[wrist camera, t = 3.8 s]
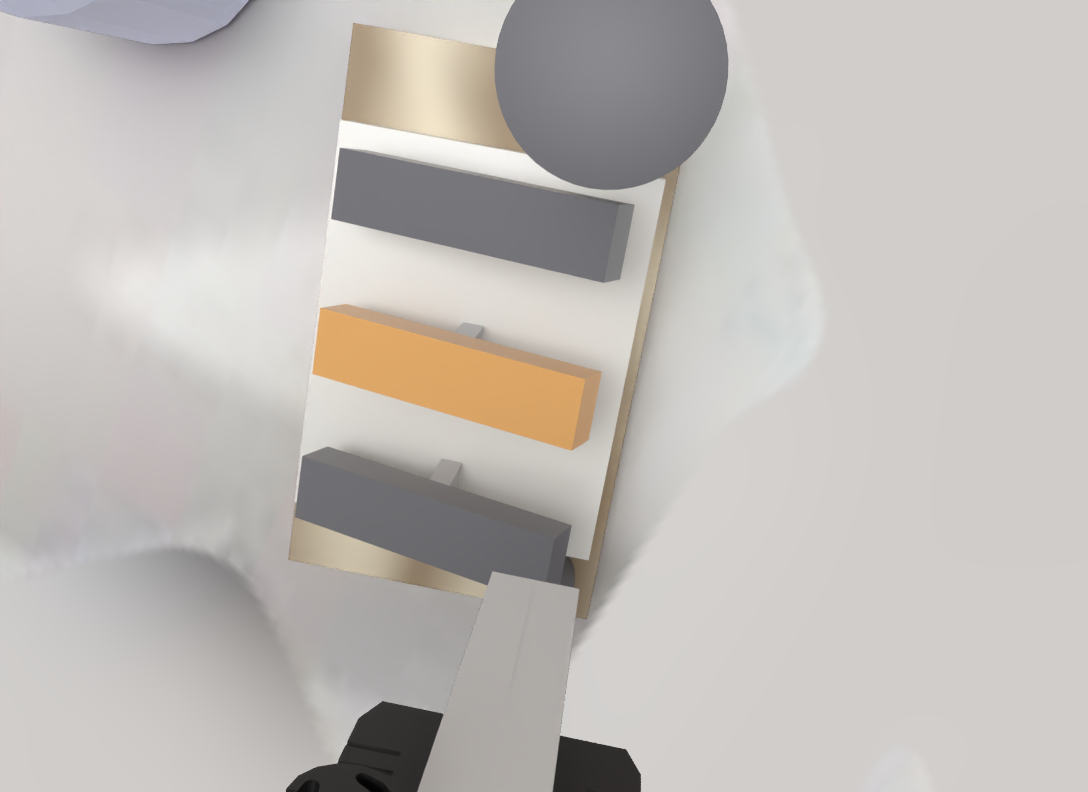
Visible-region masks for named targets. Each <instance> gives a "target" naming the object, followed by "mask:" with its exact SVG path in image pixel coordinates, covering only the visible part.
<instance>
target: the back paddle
mask: <svg viewBox="0 0 1088 792" xmlns="http://www.w3.org/2000/svg"><path fill="white" fill-rule="evenodd" d="M295 517H296V518H299V519H301V520H304V521H307V522H310V523H313V524H315V525H318V526H321V527H324V528H327V529H330V530H332V531H335V532H338V533H341V534H344V535H346V536H349V537H352V538H355V539H358V540H360V541H363V542H366V543H369V544H372V545H375V546H377V547H380V548H383V549H386V550H389V551H391V552H394V553H397V554H400V555H403V556H406V557H408V558H411V559H414V560H417V561H420V562H422V563H425V564H428V565H431V566H434V567H436V568H439V569H442V570H445V571H448V572H451V573H453V574H456V575H459V576H462V577H465V578H467V579H470V580H473V581H476V582H479V583H482V584H484V585H487V586H488V583H489V580H490V577H491V574H492V571H493V572H498V573H503V574H508V575H513V576H518V577H523V578H528V579H533V580H538V581H542V582H547V583H552V584H557V585H560V583H561V578H562V573H563V568H564V562H565V557H566V552H567V547H568V542H569V537H570V532H571V527H572V525H569V524H566V523H563V522H560V521H557V520H554V519H551V518H548V517H545V516H542V515H538V514H535V513H532V512H529V511H526V510H523V509H520V508H517V507H514V506H511V505H508V504H504V503H501V502H498V501H495V500H492V499H489V498H486V497H483V496H480V495H477V494H473V493H470V492H467V491H464V490H461V489H458V488H455V487H452V486H449V485H446V484H443V483H439V482H436V481H433V480H430V479H427V478H424V477H421V476H418V475H415V474H412V473H408V472H405V471H402V470H399V469H396V468H393V467H390V466H387V465H384V464H381V463H378V462H374V461H371V460H368V459H365V458H362V457H359V456H356V455H353V454H350V453H347V452H343V451H340V450H337V449H334V448H331V447H328V446H327V447H325V448H322V449H320V450H317V451H314V452H312V453H309V454H306V455H304V456H302V463H301V471H300V479H299V487H298V496H297V504H296V512H295Z"/></svg>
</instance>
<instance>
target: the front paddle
mask: <svg viewBox="0 0 1088 792" xmlns="http://www.w3.org/2000/svg"><path fill="white" fill-rule="evenodd" d="M634 206H635V205H633V204H628V203H623V202H618V201H613V200H608V199H603V198H599V197H594V196H589V195H584V194H579V193H574V192H569V191H564V190H559V189H555V188H550V187H545V186H540V185H535V184H530V183H525V182H520V181H515V180H510V179H506V178H501V177H496V176H491V175H486V174H481V173H476V172H471V171H466V170H462V169H457V168H452V167H447V166H442V165H437V164H432V163H427V162H422V161H417V160H413V159H408V158H403V157H398V156H393V155H388V154H383V153H378V152H373V151H369V150H361V149H350V148H340V150H339V158H338V166H337V175H336V183H335V191H334V199H333V208H332V216H331V219H333V220H337V221H341V222H346V223H350V224H354V225H358V226H363V227H367V228H371V229H376V230H380V231H384V232H388V233H393V234H397V235H401V236H405V237H410V238H414V239H418V240H423V241H427V242H431V243H435V244H440V245H444V246H448V247H452V248H457V249H461V250H465V251H470V252H474V253H478V254H482V255H487V256H491V257H495V258H499V259H504V260H508V261H512V262H517V263H521V264H525V265H529V266H534V267H538V268H542V269H546V270H551V271H555V272H559V273H564V274H568V275H572V276H576V277H581V278H585V279H589V280H593V281H598V282H602V283H606V282H610V281H615V280H620V277H621V272H622V267H623V262H624V257H625V252H626V247H627V242H628V237H629V232H630V226H631V221H632V216H633V211H634Z"/></svg>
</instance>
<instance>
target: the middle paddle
mask: <svg viewBox="0 0 1088 792" xmlns="http://www.w3.org/2000/svg"><path fill="white" fill-rule="evenodd" d="M312 374H314V375H318V376H321V377H324V378H328V379H331V380H335V381H338V382H341V383H345V384H348V385H351V386H355V387H358V388H362V389H365V390H368V391H372V392H375V393H378V394H382V395H385V396H389V397H392V398H395V399H399V400H402V401H405V402H409V403H412V404H416V405H419V406H422V407H426V408H429V409H432V410H436V411H439V412H442V413H446V414H449V415H453V416H456V417H459V418H463V419H466V420H469V421H473V422H476V423H480V424H483V425H486V426H490V427H493V428H496V429H500V430H503V431H507V432H510V433H513V434H517V435H520V436H523V437H527V438H530V439H534V440H537V441H540V442H544V443H547V444H550V445H554V446H557V447H561V448H564V449H567V450H571V451H572V450H574V449H575V448H577V447H578V446H580V445H582V444H583V443H585V442H586V441H588V440H589V435H590V430H591V425H592V420H593V415H594V410H595V405H596V400H597V394H598V389H599V384H600V379H601V374H602V372H601V371H597V370H594V369H590V368H586V367H582V366H579V365H575V364H571V363H567V362H564V361H560V360H556V359H552V358H548V357H545V356H541V355H537V354H533V353H530V352H526V351H522V350H518V349H515V348H511V347H507V346H503V345H499V344H496V343H492V342H488V341H484V340H481V339H477V338H473V337H469V336H466V335H462V334H458V333H454V332H451V331H447V330H443V329H439V328H435V327H432V326H428V325H424V324H420V323H417V322H413V321H409V320H405V319H402V318H398V317H394V316H390V315H386V314H383V313H379V312H375V311H371V310H368V309H364V308H360V307H356V306H353V305H349V304H341V305H335V306H329V307H322V308H320V315H319V323H318V331H317V339H316V347H315V356H314V364H313V372H312Z"/></svg>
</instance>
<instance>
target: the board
mask: <svg viewBox="0 0 1088 792" xmlns="http://www.w3.org/2000/svg"><path fill="white" fill-rule="evenodd" d="M495 55H496V49H495V48H490V47H484V46H478V45H473V44H467V43H462V42H456V41H451V40H445V39H440V38H434V37H428V36H423V35H417V34H412V33H406V32H401V31H395V30H390V29H384V28H379V27H373V26H367V25H362V24H356V23H353V30H352V38H351V47H350V55H349V63H348V71H347V80H346V88H345V96H344V105H343V113H342V120H349V121H358V122H363V123H369V124H374V125H379V126H385V127H390V128H396V129H401V130H407V131H412V132H418V133H423V134H428V135H434V136H439V137H445V138H450V139H456V140H461V141H467V142H472V143H477V144H483V145H488V146H494V147H499V148H505V149H510V150H516V151H521V152H524V150H523V149H522V148H521V146H520V145H519V144H518V143H517V141H516V140H515V138H514V137H513V135H512V133H511V132H510V130H509V128H508V126H507V124H506V122H505V119H504V117H503V115H502V112H501V109H500V105H499V102H498V98H497V92H496V86H495V68H494V66H495ZM679 168H680V165H679V166H678V167H677V168H676V169H674V170H673V171H671V172H669V173H668V174H666V175H664V176H663V178H665V179H666V181H665V186H664V191H663V196H662V201H661V206H660V211H659V216H658V221H657V226H656V231H655V236H654V241H653V246H652V250H651V255H650V260H649V265H648V270H647V275H646V280H645V285H644V290H643V295H642V300H641V305H640V310H639V315H638V319H637V324H636V329H635V334H634V339H633V344H632V349H631V354H630V359H629V364H628V369H627V374H626V379H625V384H624V388H623V393H622V398H621V403H620V408H619V413H618V418H617V423H616V428H615V433H614V438H613V443H612V448H611V453H610V457H609V462H608V467H607V472H606V477H605V482H604V487H603V492H602V497H601V502H600V507H599V512H598V517H597V521H596V526H595V531H594V536H593V541H592V546H591V551H590V556H589V560H584V559H579V558H574V557H570V559H571V561H572V563H573V566H574V569H575V585H574V588H577V589H579V595H578V603H577V610H576V617H578V618H583V619H587V616H588V611H589V606H590V601H591V596H592V591H593V587H594V582H595V577H596V572H597V567H598V562H599V557H600V553H601V548H602V543H603V538H604V533H605V528H606V523H607V518H608V514H609V509H610V504H611V499H612V494H613V489H614V484H615V480H616V475H617V470H618V465H619V460H620V455H621V450H622V446H623V441H624V436H625V431H626V426H627V421H628V416H629V412H630V407H631V402H632V397H633V392H634V387H635V382H636V378H637V373H638V368H639V363H640V358H641V353H642V348H643V343H644V339H645V334H646V329H647V324H648V319H649V314H650V309H651V305H652V300H653V295H654V290H655V285H656V280H657V275H658V271H659V266H660V261H661V256H662V251H663V246H664V241H665V237H666V232H667V227H668V222H669V217H670V212H671V207H672V203H673V198H674V193H675V188H676V183H677V178H678V173H679ZM296 504H297V503H296V502H295V509H294V517H293V525H292V534H291V542H290V550H289V558H288V560H293V561H298V562H303V563H308V564H313V565H318V566H323V567H328V568H333V569H338V570H343V571H348V572H353V573H358V574H363V575H368V576H373V577H378V578H383V579H388V580H393V581H398V582H403V583H408V584H413V585H418V586H423V587H428V588H433V589H438V590H443V591H448V592H453V593H458V594H463V595H468V596H473V597H478V598H484V595H485V592H486V589H487V585H484V584H482V583H479V582H476V581H473V580H470V579H467V578H465V577H462V576H459V575H456V574H453V573H451V572H448V571H445V570H442V569H439V568H436V567H434V566H431V565H428V564H425V563H422V562H420V561H417V560H414V559H411V558H408V557H406V556H403V555H400V554H397V553H394V552H391V551H389V550H386V549H383V548H380V547H377V546H375V545H372V544H369V543H366V542H363V541H360V540H358V539H355V538H352V537H349V536H346V535H344V534H341V533H338V532H335V531H332V530H330V529H327V528H324V527H321V526H318V525H315V524H313V523H310V522H307V521H304V520H301V519H299V518H296V517H295V512H296Z"/></svg>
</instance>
